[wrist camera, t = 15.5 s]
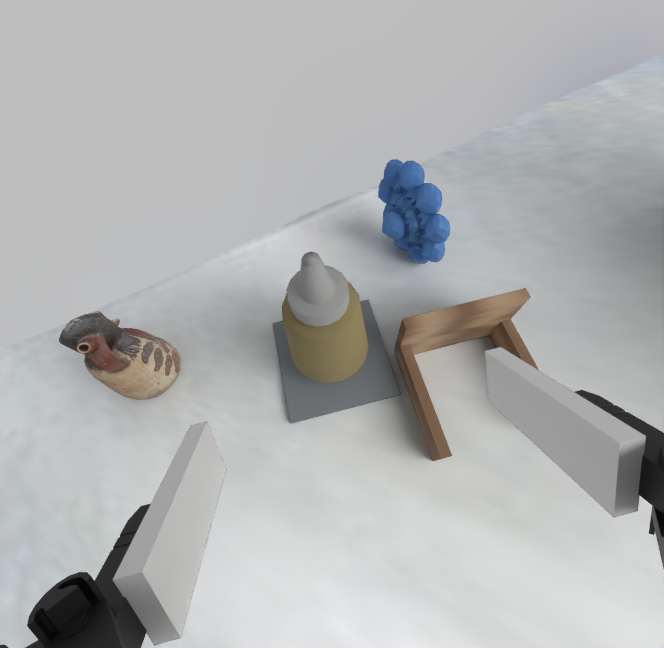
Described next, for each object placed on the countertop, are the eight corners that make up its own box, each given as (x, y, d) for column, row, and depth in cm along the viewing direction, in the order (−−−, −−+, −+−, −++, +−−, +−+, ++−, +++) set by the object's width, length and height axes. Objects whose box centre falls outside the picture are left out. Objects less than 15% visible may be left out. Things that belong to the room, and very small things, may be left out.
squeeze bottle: (282, 355, 38) (224, 258, 21) (334, 312, 39) (318, 194, 23) (328, 408, 34) (301, 341, 18) (382, 359, 36) (401, 259, 20)
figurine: (170, 332, 41) (102, 278, 30) (190, 379, 38) (123, 337, 27) (114, 362, 39) (23, 317, 29) (131, 413, 36) (35, 383, 26)
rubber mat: (368, 301, 40) (368, 299, 40) (399, 395, 35) (400, 393, 35) (273, 325, 40) (272, 323, 39) (291, 423, 35) (290, 422, 34)
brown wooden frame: (493, 325, 38) (525, 288, 31) (548, 429, 32) (602, 414, 25) (394, 350, 37) (402, 319, 30) (433, 461, 32) (454, 454, 25)
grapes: (353, 235, 45) (352, 157, 34) (393, 213, 46) (403, 131, 36) (407, 293, 40) (424, 225, 30) (449, 267, 42) (480, 192, 31)
